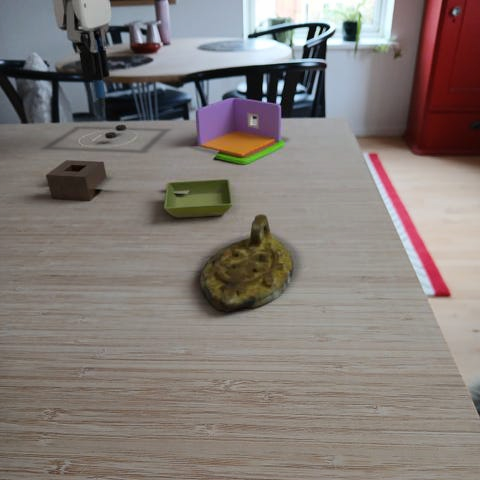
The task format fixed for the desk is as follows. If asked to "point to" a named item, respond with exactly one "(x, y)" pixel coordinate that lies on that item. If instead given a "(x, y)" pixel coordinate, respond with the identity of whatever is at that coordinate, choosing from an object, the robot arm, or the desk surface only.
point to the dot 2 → (120, 127)
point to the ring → (100, 135)
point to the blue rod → (99, 88)
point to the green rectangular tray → (198, 198)
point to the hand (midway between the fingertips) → (97, 77)
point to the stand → (76, 180)
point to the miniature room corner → (240, 129)
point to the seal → (248, 270)
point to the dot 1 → (110, 135)
